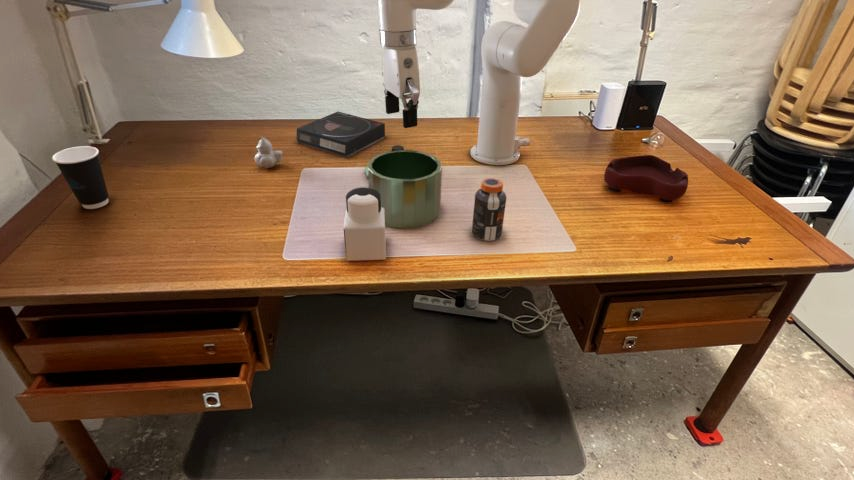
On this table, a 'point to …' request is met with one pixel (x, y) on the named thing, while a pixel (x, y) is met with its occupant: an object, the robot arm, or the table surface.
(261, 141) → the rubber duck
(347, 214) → the medicine bottle
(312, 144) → the portable cd player
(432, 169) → the tin
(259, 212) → the table surface
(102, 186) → the dixie cup
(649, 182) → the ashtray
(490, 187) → the pill bottle
